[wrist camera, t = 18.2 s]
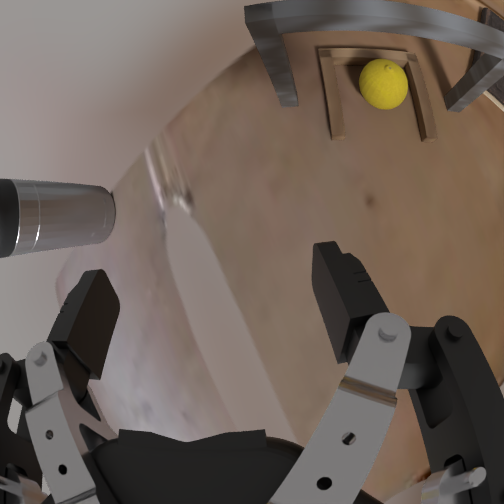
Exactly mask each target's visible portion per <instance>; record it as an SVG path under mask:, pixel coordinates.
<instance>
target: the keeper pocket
mask: <svg viewBox="0 0 504 504" xmlns="http://www.w3.org/2000/svg"><path fill="white" fill-rule="evenodd" d="M244 10H245V23H246V26H247V28H248V30H249V31H250V34H251V36H252V38H253V40H254V42H255V45H256V47H257V49H258V51H259V53H260V56H261V58H262V60H263V62H264V65H265V67H266V69H267V72H268V74H269V76H270V79H271V81H272V83H273V86H274V88H275V91H276V93H277V96H278V98H279V101H280V103H281V106H282V107H293V106H298V98H297V91H296V87H295V82H294V78H293V74H292V71H291V67H290V63H289V59H288V55H287V52H286V48H285V45H284V41H283V38H282V34H283V33H293V32H306V31H328V30H352V31H374V32H386V33H396V34H404V35H411V36H418V37H424V38H429V39H434V40H439V41H444V42H448V43H452V44H456V45H460V46H464V47H467V48H471V49H474V50H478V51H481V52H484V54H483V55H482V56H481V57H480V59H479V60H478V61H477V62H476V63H475V64H474V65H473V66H472V67H471V69H470V70H469V71H468V72H467V73H466V74H465V75H464V76H463V77H462V78H461V79H460V80H459V82H458V83H457V84H456V85H455V86H454V87H453V88H452V89H451V90H450V91H449V92H448V93H447V94H446V95H445V97H444V99H445V103H446V107H447V110H448V111H454V112H460V111H462V110H463V109H464V108H465V107H466V106H468V105H469V104H470V103H471V102H473V101H474V100H475V99H476V98H477V97H479V96H480V95H481V94H482V93H483V92H485V91H486V90H487V89H488V88H489V87H491V86H492V85H493V84H494V83H495V82H497V81H498V80H499V79H500V78H501V77H503V76H504V32H502V31H500V30H497V29H495V28H492V27H490V26H487V25H485V24H482V23H479V22H476V21H474V20H471V19H468V18H465V17H461V16H458V15H455V14H451V13H447V12H444V11H440V10H436V9H431V8H427V7H422V6H417V5H411V4H406V3H399V2H392V1H384V0H283V1H275V2H267V3H261V4H255V5H249V6H244ZM318 51H319V60H320V65H321V70H322V76H323V82H324V88H325V94H326V101H327V108H328V115H329V123H330V131H331V139H332V140H344V139H345V128H344V120H343V113H342V107H341V101H340V95H339V89H338V83H337V78H336V73H335V68H334V65H367V64H368V63H369V62H371V61H373V60H375V59H387V60H391V61H393V62H395V63H396V64H398V65H399V66H400V67H401V68H405V71H406V74H407V78H408V81H409V85H410V89H411V93H412V97H413V101H414V105H415V109H416V114H417V119H418V124H419V129H420V135H421V141H422V142H433V141H435V140H436V139H437V138H438V137H437V131H436V126H435V121H434V117H433V112H432V108H431V104H430V100H429V96H428V92H427V88H426V85H425V81H424V78H423V75H422V71H421V68H420V65H419V62H418V59H417V56H416V54H415V53H411V52H402V51H393V50H381V49H361V48H325V49H318Z"/></svg>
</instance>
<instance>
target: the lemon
mask: <svg viewBox="0 0 504 504" xmlns="http://www.w3.org/2000/svg"><path fill="white" fill-rule="evenodd" d="M359 86H360V91H361V93H362V96H363V97H364V98H365V100H366V101H367V102H368V103H369V104H371V105H372V106H374V107H376V108H379V109H392V108H395V107H397V106H398V105H399V104H401V103H402V102H403V100H404V99H405V97H406V94H407V90H408V80H407V77H406V74H405V72H404V71H403V69H402V68H401V67H400V66H399V65H398V64H396V63H395V62H393V61H391V60H387V59H375V60H373V61H371V62H369V63H368V64H367V65H366V66H365V67H364V68H363V70H362V72H361V74H360V79H359Z"/></svg>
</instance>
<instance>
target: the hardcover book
mask: <svg viewBox="0 0 504 504" xmlns="http://www.w3.org/2000/svg"><path fill="white" fill-rule="evenodd" d="M480 23H482V24H485V25H487V26H490V27H492V28H495V29H497V30H500V31H502V32H504V20H502V19H501V18H500V17H499V16H497V15H496V14H495V13H493V12H492V11H491V10H489V9H488V8H483V10H482V15H481V22H480ZM483 54H484V52H481V51H478V50H475V55H474V59H473V63H472V66H473V65H474V64H475V63H476V62H477V61H478V60H479V59H480V57H481V56H482V55H483ZM483 94H485V95H486V96H487V97H488V98H489V99H490V100H492V101H493V102H494V103H495V104H496V105H497V106H498V107H499V108H500V109H501V110H502V111H503V112H504V76H503V77H501V78H500V79H499V80H498V81H497V82H495V83H494V84H493V85H492V86H491V87H489V88H488V89H487V90H486V91H485V92H483Z"/></svg>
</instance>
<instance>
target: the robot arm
mask: <svg viewBox="0 0 504 504" xmlns="http://www.w3.org/2000/svg"><path fill="white" fill-rule="evenodd" d="M114 220H115V207H114V202H113V199H112V197H111V195H110V193H109V192H108V191H107V190H106V189H105V188H103V187H101V186H92V185H83V184H73V183H62V182H50V181H35V180H17V179H0V258H3V257H9V256H15V255H22V254H27V253H33V252H40V251H46V250H54V249H60V248H68V247H75V246H83V245H90V244H98V243H101V242H103V241H104V240H106V239H107V237H108V236H109V235H110V233H111V231H112V228H113V225H114ZM312 286H313V291H314V294H315V297H316V300H317V303H318V306H319V309H320V312H321V314H322V317H323V320H324V323H325V326H326V329H327V332H328V335H329V338H330V341H331V344H332V347H333V351H334V354H335V357H336V360H337V363H338V364H340V363H344V362H348V365H349V367H348V369H347V371H346V374H345V376H344V378H343V380H342V381H341V382H340V384H339V386H338V388H337V390H336V392H335V394H334V396H333V398H332V400H331V402H330V404H329V406H328V408H327V410H326V412H325V414H324V415H323V417H322V419H321V421H320V423H319V425H318V426H317V428H316V430H315V432H314V433H313V435H312V437H311V439H310V440H309V442H308V444H307V445H306V447H305V448H304V447H302V446H300V445H298V444H295V443H293V442H290V441H287V440H284V439H280V438H274V437H266V433H265V429H263V430H254V431H243V432H228V433H223V434H219V435H215V436H212V437H208V438H204V439H200V440H196V441H192V442H182V441H178V440H175V439H171V438H168V437H165V436H161V435H158V434H155V433H152V432H144V431H133V430H124V429H119V436H118V435H117V434H116V433H115V432H114V431H113V430H112V429H111V428H110V426H109V425H108V423H107V421H106V419H105V417H104V415H103V413H102V411H101V409H100V407H99V405H98V403H97V400H96V398H95V396H94V394H93V391H92V389H91V387H90V386H89V385H88V381H89V379H95V380H100V379H101V375H102V371H103V367H104V363H105V359H106V356H107V352H108V348H109V345H110V341H111V338H112V335H113V331H114V328H115V325H116V322H117V318H118V315H119V312H120V303H119V299H118V296H117V295H116V293H115V291H114V289H113V287H112V285H111V283H110V281H109V279H108V277H107V275H106V273H105V271H104V270H102V269H99V270H91V271H85V272H84V273H83V275H82V277H81V279H80V281H79V283H78V284H77V285H76V286H75V287H74V288H73V289H72V291H71V292H70V293H69V294H68V296H67V298H66V300H65V302H64V305H63V306H62V308H61V310H60V313H59V314H58V316H57V318H56V321H55V323H54V325H53V327H52V330H51V332H50V334H49V336H48V339H47V341H46V342H40V343H38V344H36V345H35V346H33V348H31V350H30V351H29V352H28V354H27V357H26V359H23V360H19V361H15V360H14V359H13V358H12V357H11V356H10V355H9V354H8V353H3V354H1V355H0V504H383V503H382V502H380V501H379V500H377V499H375V498H374V497H372V496H371V495H369V494H368V493H366V492H365V491H363V490H362V489H361V487H362V486H363V484H364V482H365V480H366V478H367V476H368V474H369V472H370V470H371V468H372V465H373V463H374V461H375V459H376V457H377V454H378V452H379V450H380V448H381V445H382V443H383V440H384V438H385V435H386V433H387V430H388V428H389V425H390V422H391V420H392V417H393V414H394V411H395V408H396V404H397V398H396V397H395V394H396V390H397V389H408V391H409V394H410V397H411V400H412V403H413V406H414V409H415V412H416V416H417V419H418V422H419V426H420V429H421V433H422V436H423V440H424V444H425V448H426V452H427V456H428V460H429V464H430V469H431V473H432V474H431V475H430V476H429V478H428V479H427V480H426V482H425V483H424V486H423V488H422V493H421V494H422V501H421V504H504V398H503V395H502V393H501V390H500V388H499V386H498V383H497V381H496V379H495V377H494V374H493V372H492V370H491V368H490V366H489V364H488V362H487V360H486V358H485V356H484V354H483V352H482V350H481V348H480V346H479V344H478V342H477V340H476V339H475V337H474V335H473V333H472V331H471V329H470V328H469V326H468V325H467V324H466V323H465V322H464V321H463V320H462V319H460V318H458V317H455V316H444V317H441V318H440V319H439V320H438V321H437V323H436V324H435V326H434V327H414V326H409V325H408V324H407V322H406V321H405V320H404V319H403V318H401V317H400V316H398V315H396V314H393V313H390V312H389V310H388V308H387V306H386V304H385V303H384V301H383V299H382V297H381V295H380V294H379V292H378V290H377V288H376V287H375V285H374V283H373V281H371V278H370V276H369V275H368V273H366V270H365V268H364V266H363V265H362V263H361V261H360V260H358V259H357V258H356V257H354V256H353V255H352V254H351V253H346V254H342V252H341V250H340V249H339V247H338V245H337V243H336V242H335V241H330V242H322V243H315V244H314V246H313V261H312ZM12 398H14V399H15V400H16V401H18V402H19V403H20V404H21V405H22V410H21V415H20V419H19V424H18V429H17V433H16V434H15V433H14V432H12V431H11V430H10V429H9V427H8V423H7V418H8V414H9V410H10V406H11V402H12ZM42 474H43V475H44V477H45V480H46V482H47V485H48V487H49V489H50V492H51V494H50V495H49V496H48V495H47V494H46V493H44V492H42Z"/></svg>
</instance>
